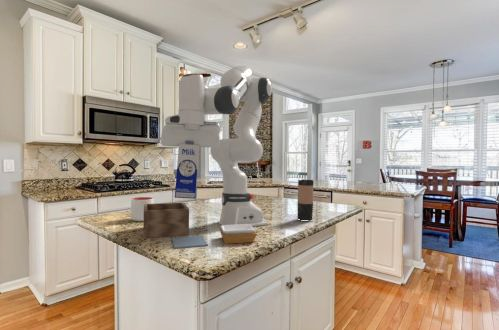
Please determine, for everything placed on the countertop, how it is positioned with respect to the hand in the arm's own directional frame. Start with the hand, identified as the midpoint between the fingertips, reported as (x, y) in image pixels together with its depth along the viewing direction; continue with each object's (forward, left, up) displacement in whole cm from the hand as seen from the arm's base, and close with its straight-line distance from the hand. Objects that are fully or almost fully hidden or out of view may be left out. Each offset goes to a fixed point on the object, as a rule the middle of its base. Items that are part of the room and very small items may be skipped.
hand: (190, 160), depth 99 cm
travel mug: (-60, -22, -29) cm, 70 cm away
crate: (+7, -18, -29) cm, 35 cm away
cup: (+16, -43, -29) cm, 54 cm away
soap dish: (-17, +2, -29) cm, 34 cm away
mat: (0, 0, -29) cm, 29 cm away
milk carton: (+2, +2, -13) cm, 13 cm away
